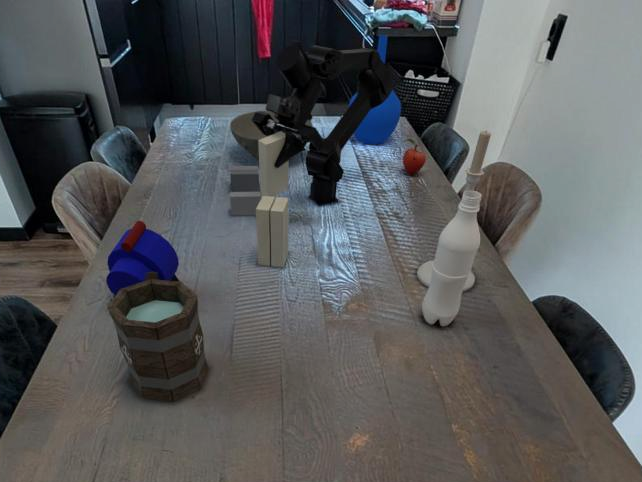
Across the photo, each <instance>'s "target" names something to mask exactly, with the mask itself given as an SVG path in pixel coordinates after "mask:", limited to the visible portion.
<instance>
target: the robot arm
mask: <svg viewBox="0 0 642 482" xmlns="http://www.w3.org/2000/svg"><path fill="white" fill-rule="evenodd" d="M304 49H305V48H304V47H303V44H302V42H301V41H299V40H292V42H291V43H290V45H287V46H286V47H284V48H283V49H282V50H281V51H280V52H278V54H277V55H276V59H275V66H276V68H277V69H278V71H279V73H280V74H281V75H282V78H283V79H284V80H285V82H286V83H287V86H289V87H290V88H291V89H293V91H292V93H291V94H290V95H288V96H285V97H283V96H279V95H275V94H273V93H272V94H271V93H268V97H267V102H266V104H265V105H266V106H265V108H264V109H265V110H264V111H271V112H273V113H275V115H274V117H275V118H276V119H277V120H279V122H278V123H277V122H275V121H274V120H273V118H272V117H271V116H270V114H267V113H264V112H261V111H262V110H257V111H258V112H256V111H254V112H255V114H254V116H253V118H252V122H253V123H254V124H255V125H256V127H257V128H258V129H259V130H260V131H261V133H262V134H264V135H265V136H267V137H268V136H270V135H273V134H275V133H278V132H280V131H282V132H284V133H285V143H284V145H283V147H282V149H281V151H280V153H279V156H278V158H277V160H276V163H275V167H276V168H279V167H280V166H281V165H283V164H284V163H285V162H287V161H288V160H289V161H290V160H291V159H293V157H295V156H297V155H298V154H300V153H302V152H304V153H305V152H306V145H307V144H308V143H309V144H308V151H307V153H306V155H305V158H304V160H305V168H306V172H307V175H308V176H311V182H310V190H309V191H310V192H309V193H310V194H308V198H309V199H310V200H311V201H313V203H315V204H316V205H318V206H325V205H330V204H334V203H338V202H339V198H337V186H338V183H339V182H340V181H341V180H342V179H343V176H344V173H345V172H344V171H345V170H344V169H343V167H342V166H341V164H340V163H341V158H342V151H343V149H344V148H345V146H346V144H347V143H348V141H350V140H351V138H352V136H354V134H353V133H354V132H355V131H356V129H357V128H358V127H359V125H360V124H361V122H362V121H363V120H364V118H365V117H366V115H367V114H368V113H369V111H370V110H371V109H373V108H375V107H377V106H379V105H381V104H382V103H383V102H384V101H385V100H386V99H387V98H388V97H389V95H390V94H391V92H392V89H393V90H394V81H393V78H392V74H391V71H390V69H389V67H388V66H387V65H386V64H384V63H383V61H382V60H381V57H380V54H379V52H377V50H376V49H373V48H367V47H362V48H357V49H343V50H338V49H335V48H330V47H324V46H320V45H315V44H313V45H310V47H309V48H308V51H305V50H304ZM349 71H350V72H351V71H357V74H356V79H357V81H358V84H357V90H356V93H357V97H356V98H355V99H354V101H353V102H352V104H351V105H350V106H349V105H348V107H349V108H348V107H347V109H346V111H345V112H344V113H343V115H341V117H340V119H339V120H338V121H337V122H336V124H335V125H334V127H333V129H332V130H331V131H330V132H329V134H328V135H327V137H323V136H322V135H321V134H320V132H319V130H318V129H317V127H315V126H313V127H311V126H308V125H305V124H306V122H307V120H309V121H311V122H312V120H313V117H314V116H313V115H312V112H313V109H314V108H315V106H316V104H317V102H318V99H319V98H322V99H326V98H327V91H326V83H323V82H321V80H320V79H319V78H321V79H325V80H334V79H336V78H338V77H340V76H341V74H342V73H344V72H349ZM306 143H307V144H306Z"/></svg>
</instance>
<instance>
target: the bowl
mask: <svg viewBox="0 0 642 482" xmlns="http://www.w3.org/2000/svg"><path fill="white" fill-rule="evenodd" d="M258 111H259V110H256V111H251V112H246V113H243V114H240V115H237V116H236V117H234V118H233V119H232V120H231V121H230V124H229V129H230V132H231V134H232V136H233V138H234V140H235V141H236V143H237V144H238V145H239V146H240V147H241V148H242V149H243V150H244V151H246V152H247V153H248V154H250V155H251V156H253V157H255V158H258V159H259V145H258V140H260V139H263V138H265V137H267V136H265V135H264V134H262V133H261V131H260V130H259V129H258V128H257V127H256V125H255V124H254V123H253V122H252V118H253V116H254V114H255V112H258ZM260 111H261V112H264V113H267V114H270V116H271V117H272V118H273V120H274V121H275V122H277V123H278V122H279V120H277V119H276V118H275V117H274V115H275V113H273V112H271V111H267V110H260ZM305 125H308V126H311V127H314V126H313V123H312V120H311V121H309V120H307V122H306V124H305ZM307 144H308V143H306V145H307Z"/></svg>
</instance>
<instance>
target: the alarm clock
mask: <svg viewBox="0 0 642 482" xmlns="http://www.w3.org/2000/svg"><path fill="white" fill-rule="evenodd" d="M106 263H107V268H108V271H109V272H108V274H107V275H106V278H105V282H106V286H107V288H108V290H109V291H110V293H112V295H113V298H114V297H115V296H116V295H117V293H118V292H119V290H120V289H122V288H125V287H128V286H131V285H134V284H137V283H140V282H143V281H145V275H146V273H148V272H156V273H158V276H159V280H167V281H178V282H181V281H180V280H179V278H178V276H177V275H176V272H177V271H178V268H179V265H180V264H179V263H180V262H179V256H178V254H177V251H176V249H175V248H174V247H173V245H172V244H171V243H170V242H169V241H168V240H167V239H166V238H165V237H164V236H163V235H161V234H159V233H158V232H156V231H154V230H151V229H148V228H147V225H146V223H145V222H144V221H142V220H137V221H136V222H135V223H134V225H133V226H132V227H131V228H130V229H127V230H126V231H125V232H124V233H123V235H122V236H121V238H119V240H118V242H117V244H116V245H115V246H114V247H113V249H112V250H111V252H110V254H109V255H108V256H107V262H106Z"/></svg>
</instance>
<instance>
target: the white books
mask: <svg viewBox="0 0 642 482" xmlns="http://www.w3.org/2000/svg"><path fill="white" fill-rule="evenodd" d="M255 219H256V221H255V222H256V242H257V243H256V244H257V245H256V246H257V265H258V266H267V267H270V266H271V267H274V268H284V266H285V264H286V261H287V259H288V255H289V247H290V246H289V245H290V244H289V241H290V240H289V238H290V236H289V232H290V231H289V230H290V227H289V226H290V198H289V197H281V196H273V197H271V196H262V195H261V200H260V202H259V204H258V206H257V208H256V215H255Z"/></svg>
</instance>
